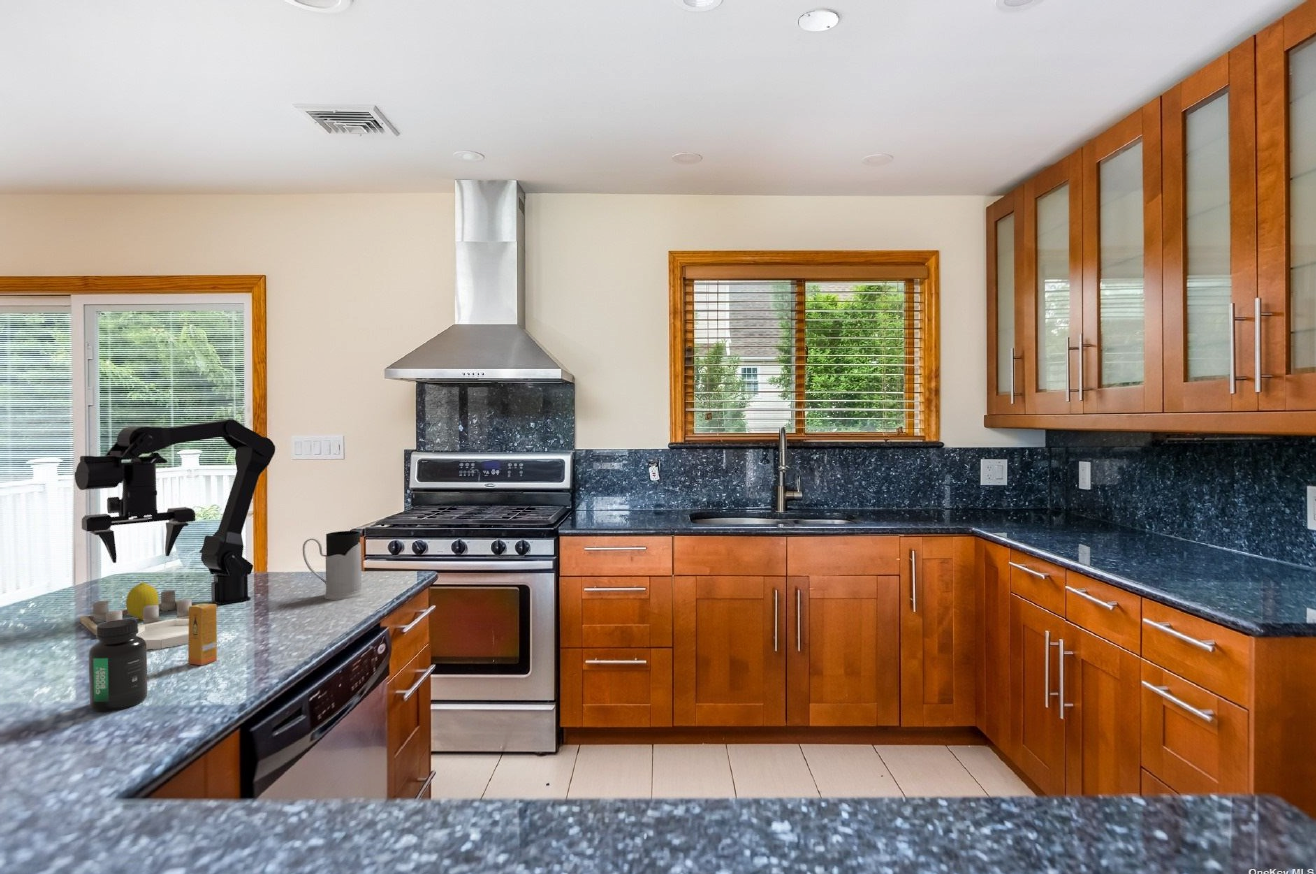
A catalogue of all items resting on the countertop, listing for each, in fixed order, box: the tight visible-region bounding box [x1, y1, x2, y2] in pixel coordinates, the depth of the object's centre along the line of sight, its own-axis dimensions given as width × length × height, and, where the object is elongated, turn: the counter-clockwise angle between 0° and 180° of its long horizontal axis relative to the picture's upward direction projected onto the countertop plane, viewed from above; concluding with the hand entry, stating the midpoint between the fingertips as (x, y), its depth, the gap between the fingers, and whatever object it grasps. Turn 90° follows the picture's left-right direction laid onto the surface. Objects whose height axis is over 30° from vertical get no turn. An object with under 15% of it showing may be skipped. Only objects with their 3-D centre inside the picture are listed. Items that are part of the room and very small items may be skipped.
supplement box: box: [187, 603, 218, 666], centre depth 122 cm, size 3×3×10 cm
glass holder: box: [302, 530, 364, 601], centre depth 170 cm, size 9×14×15 cm, turn 89°
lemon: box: [125, 582, 160, 621], centre depth 149 cm, size 6×6×8 cm
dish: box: [136, 618, 189, 650], centre depth 136 cm, size 14×14×2 cm
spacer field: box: [79, 589, 193, 636], centre depth 149 cm, size 18×18×4 cm
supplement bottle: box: [88, 618, 148, 713], centre depth 104 cm, size 7×7×12 cm
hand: (141, 559), depth 148 cm, fingers open, 9 cm apart
